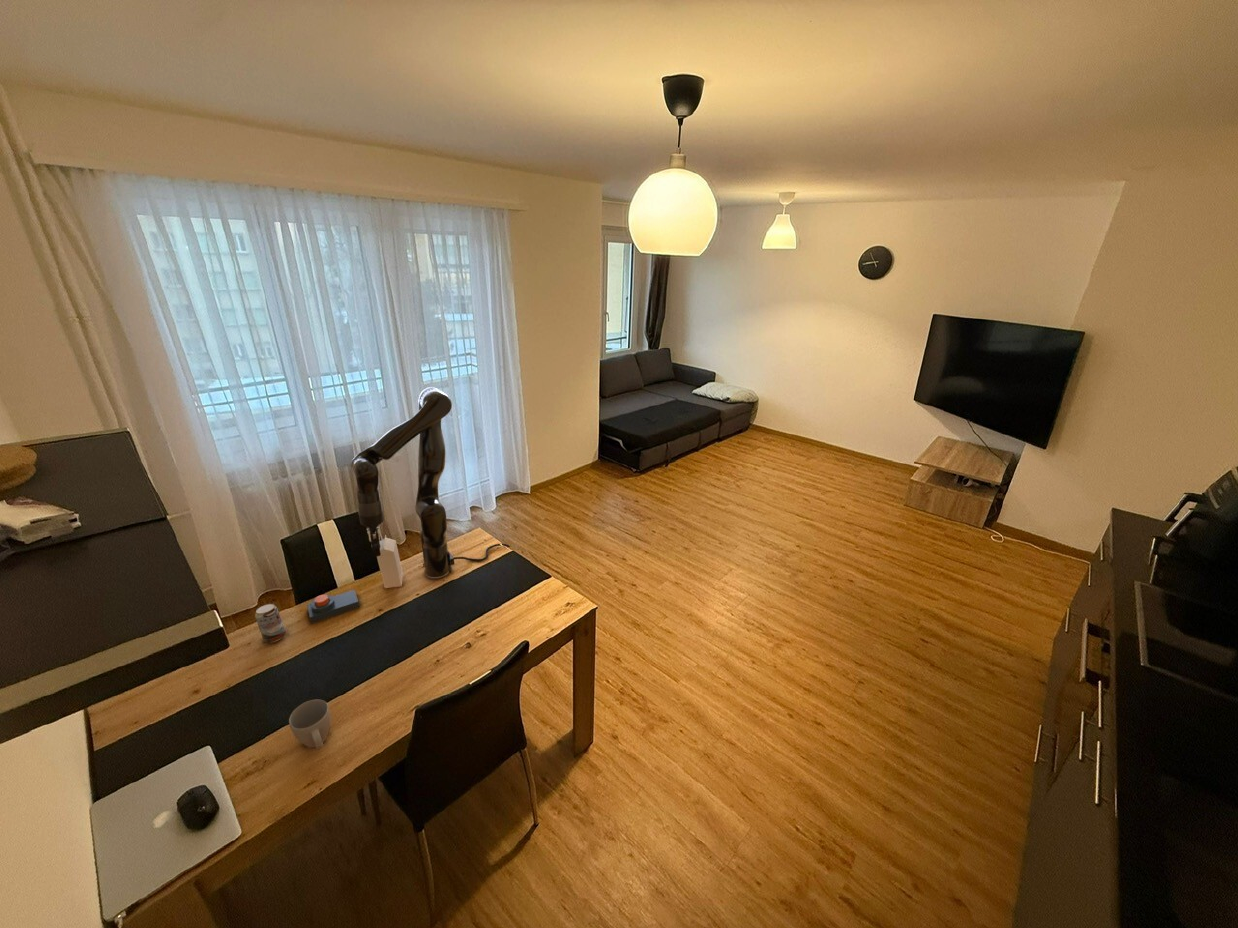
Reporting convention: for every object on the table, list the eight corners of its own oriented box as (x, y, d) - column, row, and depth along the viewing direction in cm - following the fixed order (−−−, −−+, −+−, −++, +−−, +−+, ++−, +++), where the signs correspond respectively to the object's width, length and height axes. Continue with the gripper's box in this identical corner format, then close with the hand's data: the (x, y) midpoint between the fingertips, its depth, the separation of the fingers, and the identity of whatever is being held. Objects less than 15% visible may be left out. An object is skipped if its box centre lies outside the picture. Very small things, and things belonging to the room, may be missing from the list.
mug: (293, 735, 128) (285, 711, 124) (330, 716, 134) (323, 692, 130) (303, 770, 121) (295, 745, 117) (342, 748, 126) (335, 724, 122)
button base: (355, 595, 178) (353, 585, 176) (359, 607, 173) (357, 597, 171) (308, 610, 170) (305, 600, 168) (311, 623, 164) (308, 613, 162)
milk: (384, 588, 183) (373, 547, 170) (386, 576, 187) (376, 535, 175) (401, 586, 184) (392, 545, 172) (403, 574, 189) (394, 533, 176)
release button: (327, 597, 170) (326, 593, 170) (329, 604, 168) (328, 599, 167) (314, 601, 168) (313, 597, 167) (316, 608, 165) (315, 603, 164)
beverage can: (269, 648, 154) (260, 619, 149) (258, 638, 157) (248, 609, 152) (290, 636, 159) (282, 608, 154) (279, 626, 162) (270, 599, 157)
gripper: (384, 518, 163) (389, 557, 170) (380, 499, 174) (385, 537, 181) (359, 522, 159) (366, 562, 166) (357, 502, 170) (363, 541, 177)
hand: (376, 549), depth 173 cm, fingers open, 8 cm apart
